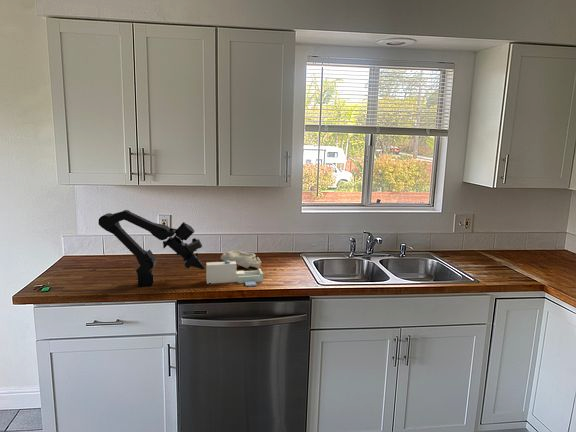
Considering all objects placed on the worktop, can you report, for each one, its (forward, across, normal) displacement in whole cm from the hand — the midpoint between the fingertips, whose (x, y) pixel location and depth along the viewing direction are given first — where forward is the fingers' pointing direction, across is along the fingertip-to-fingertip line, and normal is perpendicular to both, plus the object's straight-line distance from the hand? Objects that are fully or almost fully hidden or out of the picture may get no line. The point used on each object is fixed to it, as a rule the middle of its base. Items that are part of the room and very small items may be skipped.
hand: (204, 268), depth 199 cm
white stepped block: (+12, 0, -2) cm, 12 cm away
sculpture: (+20, +25, -9) cm, 33 cm away
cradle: (+20, 0, -10) cm, 22 cm away
